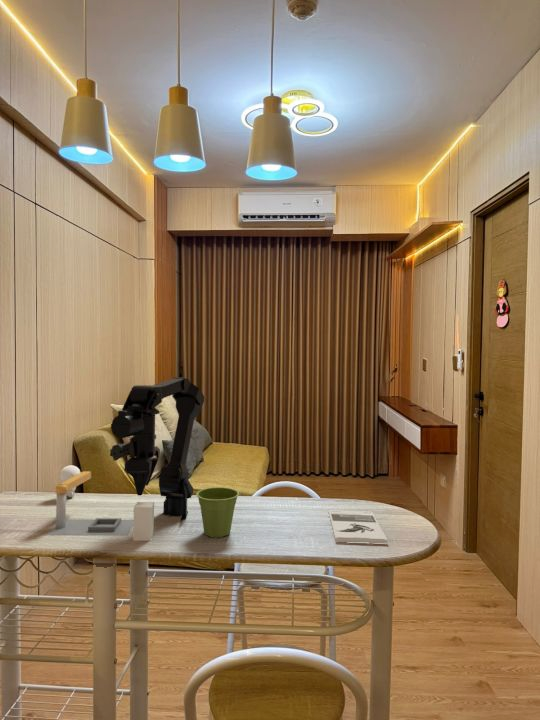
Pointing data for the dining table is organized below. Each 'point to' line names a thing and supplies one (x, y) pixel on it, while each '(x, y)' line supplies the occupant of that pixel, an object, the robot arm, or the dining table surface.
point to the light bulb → (67, 474)
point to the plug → (143, 521)
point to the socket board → (87, 523)
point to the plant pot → (217, 510)
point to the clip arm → (72, 482)
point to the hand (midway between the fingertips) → (143, 490)
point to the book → (356, 527)
